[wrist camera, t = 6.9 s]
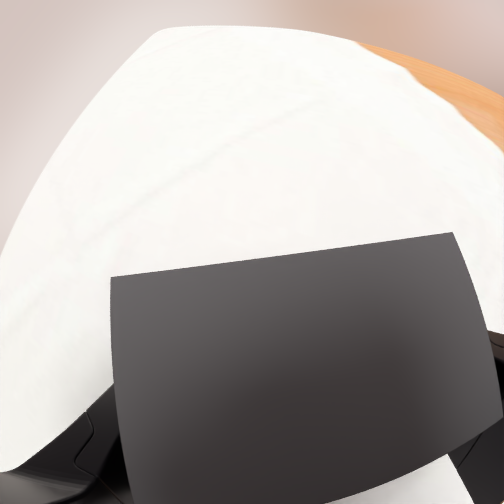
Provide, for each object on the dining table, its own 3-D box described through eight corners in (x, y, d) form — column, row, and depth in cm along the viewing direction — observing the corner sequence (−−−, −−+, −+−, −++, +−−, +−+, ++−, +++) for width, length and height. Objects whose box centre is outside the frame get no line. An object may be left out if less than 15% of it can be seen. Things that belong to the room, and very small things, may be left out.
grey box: (339, 414, 13) (503, 419, 4) (209, 438, 13) (139, 524, 3) (323, 339, 15) (451, 230, 5) (197, 359, 14) (111, 274, 5)
